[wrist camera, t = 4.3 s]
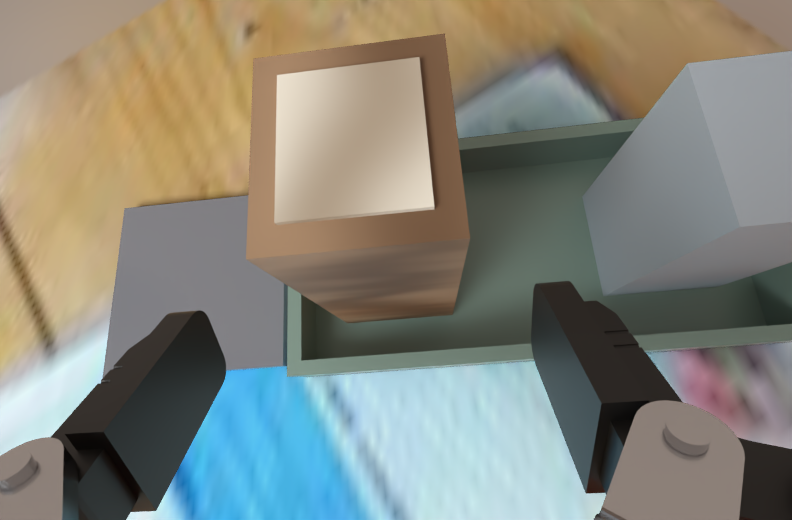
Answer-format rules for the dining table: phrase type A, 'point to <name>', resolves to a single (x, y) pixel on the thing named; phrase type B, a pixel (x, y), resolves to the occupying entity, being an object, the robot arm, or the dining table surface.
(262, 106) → the label box
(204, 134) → the dining table surface
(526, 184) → the parts bin
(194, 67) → the dining table surface
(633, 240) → the plain box
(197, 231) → the slate pad
